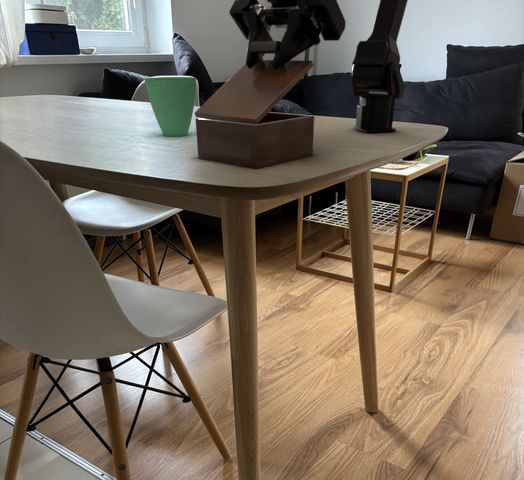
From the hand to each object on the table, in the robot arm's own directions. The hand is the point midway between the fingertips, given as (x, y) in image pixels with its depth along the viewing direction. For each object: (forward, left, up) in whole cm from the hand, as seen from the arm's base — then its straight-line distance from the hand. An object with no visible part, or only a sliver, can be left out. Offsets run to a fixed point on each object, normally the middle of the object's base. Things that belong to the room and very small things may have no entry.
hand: (260, 66), depth 76 cm
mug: (+11, -29, -13) cm, 34 cm away
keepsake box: (+1, +1, -13) cm, 13 cm away
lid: (+1, +1, -3) cm, 4 cm away
